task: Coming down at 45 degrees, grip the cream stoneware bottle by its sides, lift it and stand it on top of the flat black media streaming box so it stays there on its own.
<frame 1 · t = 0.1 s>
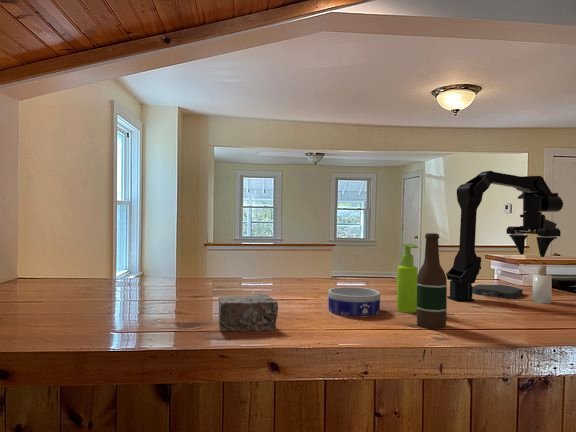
hand: (531, 255, 145), 15 cm above the table, tool pointing down, fingers open, 9 cm apart
media streaming box: (497, 295, 150), on the table
dog bowl: (353, 311, 122), on the table
bottle: (541, 302, 137), on the table
soap dispenser: (407, 311, 122), on the table
stone block: (248, 328, 103), on the table
beer bottle: (431, 326, 106), on the table
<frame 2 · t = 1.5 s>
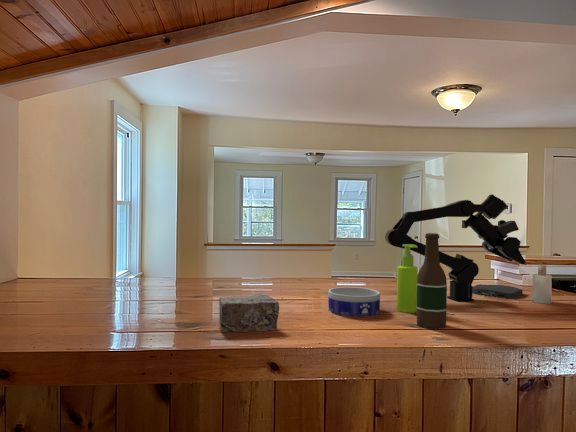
hand: (518, 262, 138), 13 cm above the table, tool tilted 45°, fingers open, 9 cm apart
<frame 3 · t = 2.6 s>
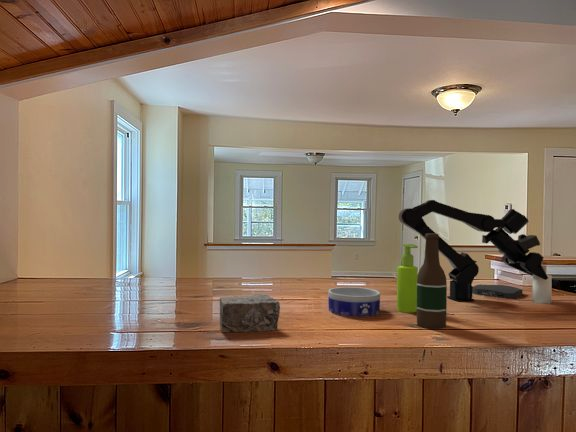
hand: (539, 276, 137), 8 cm above the table, tool tilted 45°, fingers open, 9 cm apart
nothing on the table moved.
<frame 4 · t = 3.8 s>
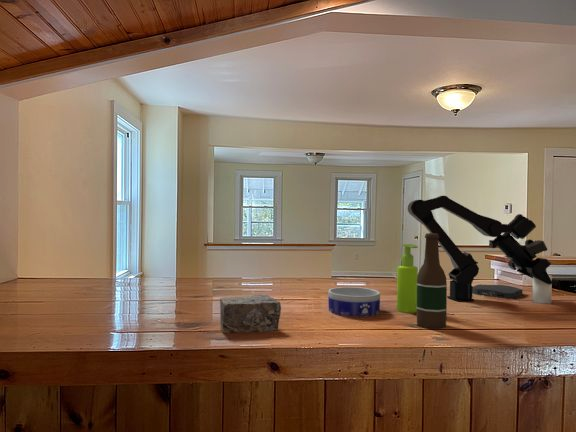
hand: (546, 282, 137), 7 cm above the table, tool tilted 45°, fingers closed on bottle, 5 cm apart
bottle: (541, 301, 137), on the table, touching gripper
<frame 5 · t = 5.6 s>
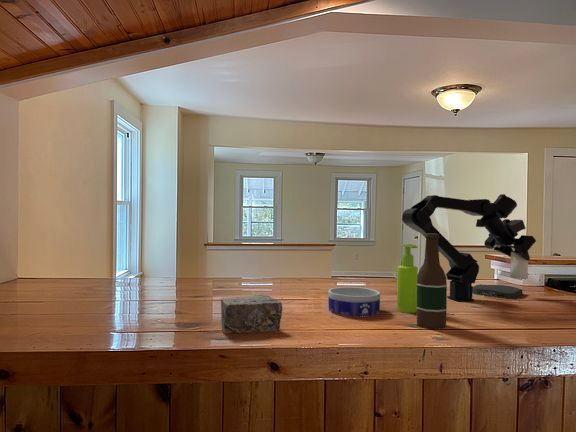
hand: (522, 259, 145), 13 cm above the table, tool tilted 45°, fingers closed on bottle, 5 cm apart
bottle: (518, 277, 145), point 7 cm above the table, touching gripper
when the fingers open (10 cm above the table, at t = 7.3 s): bottle drops 1 cm, resting on media streaming box.
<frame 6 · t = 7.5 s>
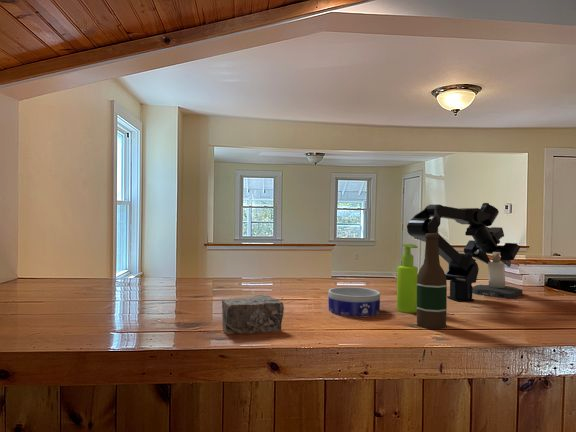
hand: (499, 264, 151), 11 cm above the table, tool tilted 45°, fingers open, 7 cm apart
media streaming box: (497, 295, 150), on the table, touching bottle
bottle: (496, 286, 150), point 3 cm above the table, touching media streaming box
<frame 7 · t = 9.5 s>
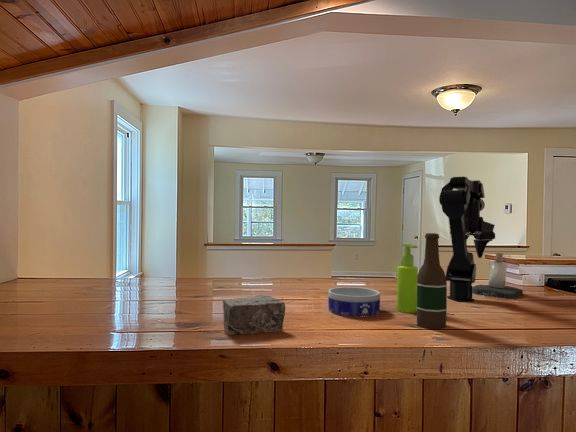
hand: (471, 255, 153), 14 cm above the table, tool pointing down, fingers open, 9 cm apart
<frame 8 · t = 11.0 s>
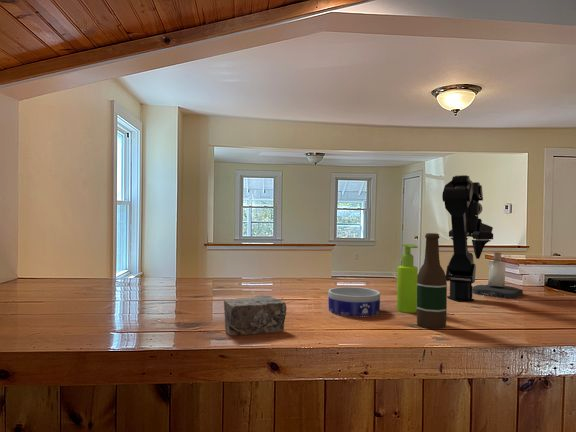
hand: (469, 257, 154), 13 cm above the table, tool pointing down, fingers open, 9 cm apart
at the end: bottle inside the target area on the media streaming box (0.6 cm from its centre), point 3.6 cm above the media streaming box's base; bottle tilted 8°; the gripper is holding nothing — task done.
